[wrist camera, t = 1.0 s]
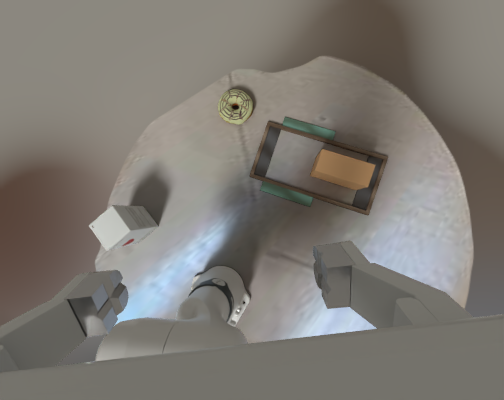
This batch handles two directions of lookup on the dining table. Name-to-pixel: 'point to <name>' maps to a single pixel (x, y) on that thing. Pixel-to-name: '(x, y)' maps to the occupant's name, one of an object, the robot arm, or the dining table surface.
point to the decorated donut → (233, 99)
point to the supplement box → (123, 226)
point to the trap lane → (272, 131)
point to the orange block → (342, 170)
